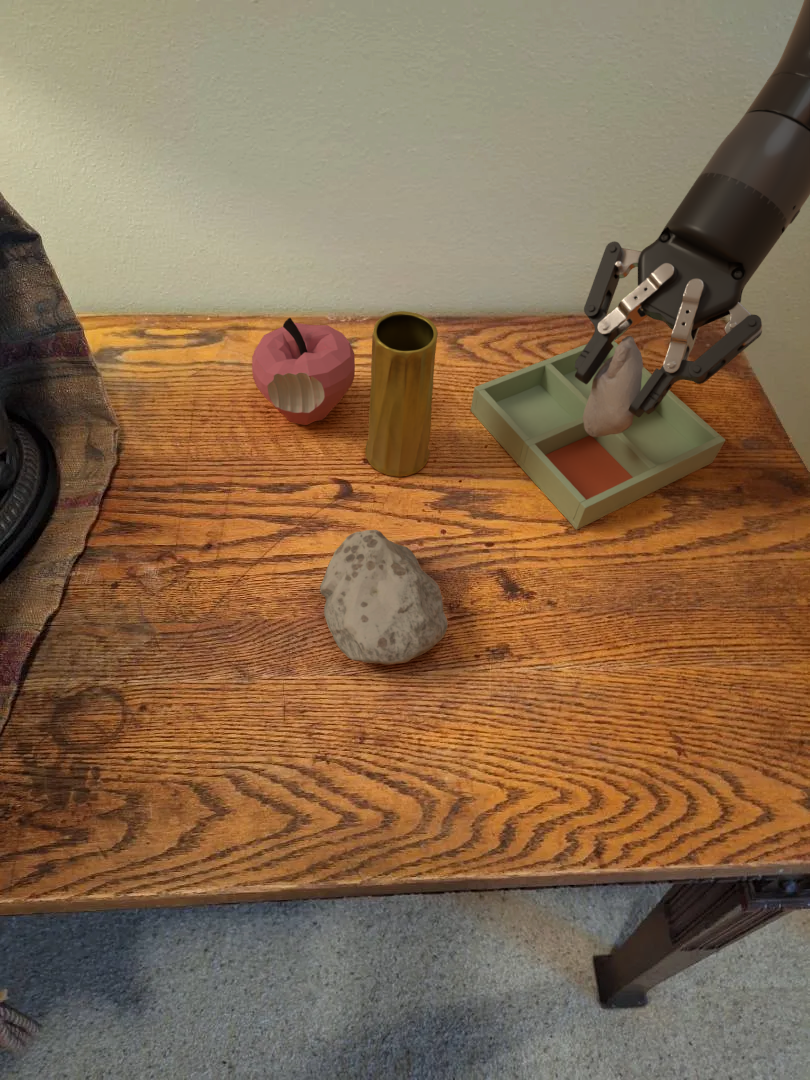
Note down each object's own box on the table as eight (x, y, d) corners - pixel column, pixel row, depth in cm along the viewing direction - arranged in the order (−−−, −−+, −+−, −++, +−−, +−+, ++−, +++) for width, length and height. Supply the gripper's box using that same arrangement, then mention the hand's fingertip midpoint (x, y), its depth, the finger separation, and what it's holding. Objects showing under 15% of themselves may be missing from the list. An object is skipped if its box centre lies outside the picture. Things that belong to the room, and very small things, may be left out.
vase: (371, 481, 67) (374, 359, 55) (360, 433, 70) (361, 310, 59) (435, 474, 68) (451, 352, 56) (421, 427, 71) (434, 304, 60)
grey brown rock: (625, 460, 63) (657, 370, 54) (584, 460, 63) (611, 370, 54) (614, 412, 66) (643, 321, 58) (575, 412, 66) (599, 321, 58)
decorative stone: (478, 615, 59) (487, 582, 55) (385, 703, 54) (387, 674, 50) (373, 528, 64) (374, 492, 60) (278, 602, 59) (272, 568, 55)
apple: (248, 436, 69) (234, 353, 61) (271, 376, 75) (260, 292, 66) (346, 450, 69) (345, 369, 61) (363, 389, 74) (363, 306, 66)
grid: (712, 462, 71) (726, 439, 68) (576, 530, 65) (585, 508, 62) (599, 359, 79) (608, 335, 76) (470, 410, 73) (474, 386, 71)
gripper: (654, 137, 53) (522, 342, 58) (838, 219, 48) (677, 438, 52) (668, 183, 60) (549, 364, 64) (830, 259, 55) (688, 450, 59)
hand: (607, 396), depth 58 cm, fingers closed on grey brown rock, 4 cm apart
